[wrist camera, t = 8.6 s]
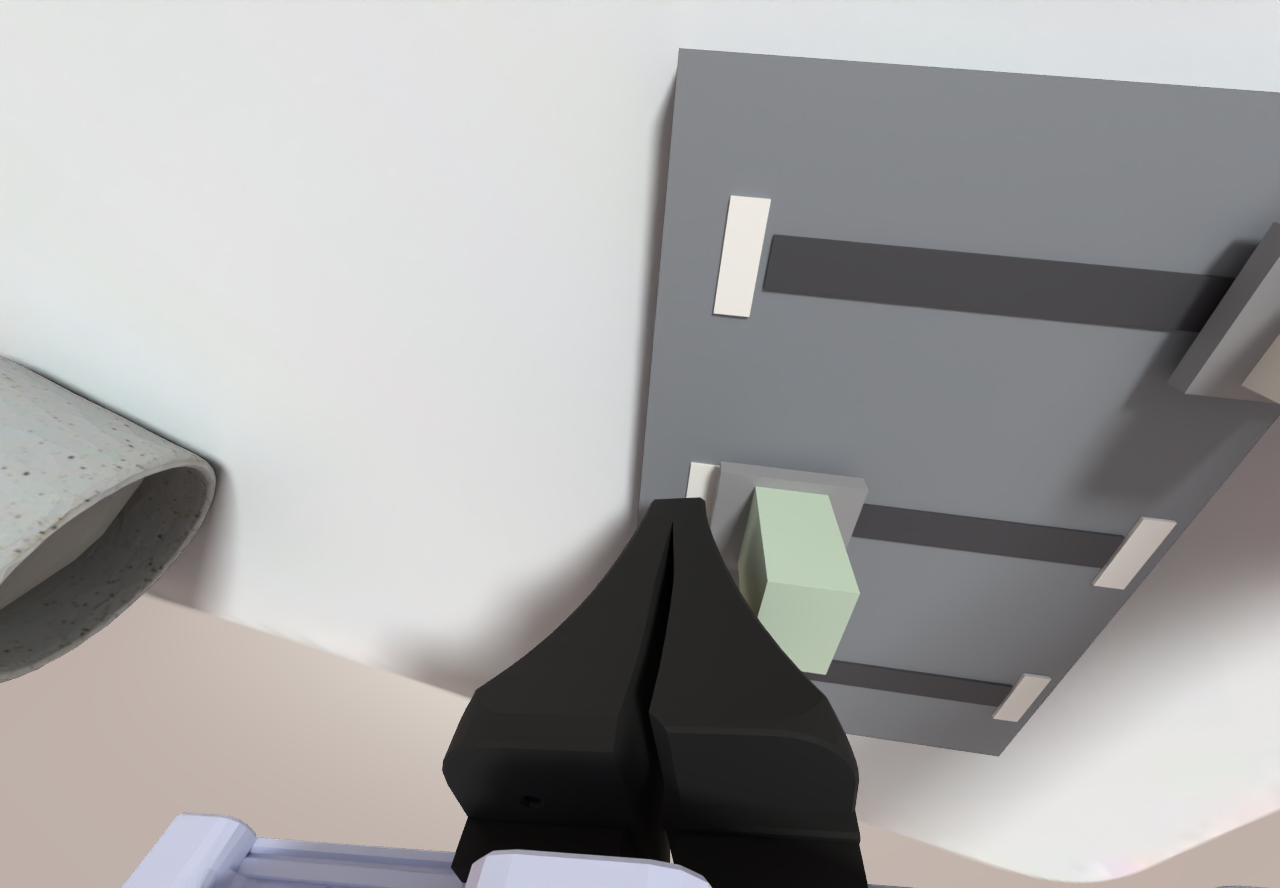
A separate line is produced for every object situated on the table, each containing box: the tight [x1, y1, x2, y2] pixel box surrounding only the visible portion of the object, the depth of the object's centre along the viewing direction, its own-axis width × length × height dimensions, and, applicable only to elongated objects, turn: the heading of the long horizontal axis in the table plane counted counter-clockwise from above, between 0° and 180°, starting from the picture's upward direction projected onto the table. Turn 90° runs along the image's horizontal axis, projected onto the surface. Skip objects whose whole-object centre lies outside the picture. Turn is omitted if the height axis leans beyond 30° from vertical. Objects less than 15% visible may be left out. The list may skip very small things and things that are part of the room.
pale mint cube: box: [709, 461, 869, 675], centre depth 12 cm, size 4×3×4 cm
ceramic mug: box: [0, 356, 216, 683], centre depth 15 cm, size 10×8×7 cm
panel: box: [637, 48, 1280, 756], centre depth 14 cm, size 14×20×2 cm
